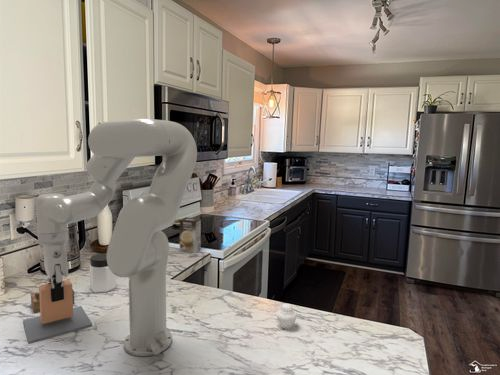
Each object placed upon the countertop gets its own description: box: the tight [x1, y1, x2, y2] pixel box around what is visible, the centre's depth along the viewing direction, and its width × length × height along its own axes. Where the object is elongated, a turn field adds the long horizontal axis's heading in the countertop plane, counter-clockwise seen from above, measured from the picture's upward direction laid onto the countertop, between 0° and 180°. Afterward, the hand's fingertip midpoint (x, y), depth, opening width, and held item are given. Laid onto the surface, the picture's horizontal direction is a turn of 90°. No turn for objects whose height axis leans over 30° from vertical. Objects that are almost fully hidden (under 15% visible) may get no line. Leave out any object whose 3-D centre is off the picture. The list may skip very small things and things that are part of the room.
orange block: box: [38, 279, 74, 324], centre depth 103 cm, size 4×8×10 cm, turn 127°
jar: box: [88, 252, 117, 294], centre depth 129 cm, size 9×8×12 cm
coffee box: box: [179, 216, 202, 254], centre depth 176 cm, size 9×6×16 cm
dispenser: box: [30, 288, 75, 314], centre depth 117 cm, size 8×12×5 cm
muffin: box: [275, 303, 298, 330], centre depth 106 cm, size 6×6×7 cm
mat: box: [22, 305, 93, 344], centre depth 104 cm, size 14×16×1 cm
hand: (56, 296), depth 103 cm, fingers closed on orange block, 4 cm apart
